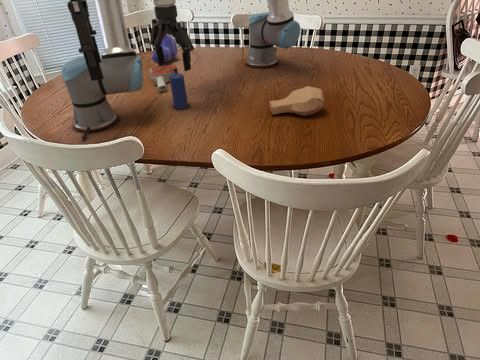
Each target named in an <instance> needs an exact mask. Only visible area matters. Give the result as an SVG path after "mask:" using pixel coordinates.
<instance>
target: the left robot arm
mask: <svg viewBox="0 0 480 360" xmlns="http://www.w3.org/2000/svg"><path fill="white" fill-rule="evenodd" d="M122 3H123V2H122V0H93V4H94V7H95V12H96V17H97V20H98V26H99V30H100V35H101V41H102V44H103V50H102V52H101V54H100V51H99V48H98V44H97V40H96V37H95V36H96V35H97V34H98V33H97V31H96V29H94V28H93V26H92V24H91V19H90V12H89V5H88V2H87V0H69V1H67V4H66V5H67V8H68V11H69V13H70V16H71V20H72V22H73V24H74V27H75V30H76V35H77V38H78V41H79V45H80V48H78V53H79V54H83V56H79V57H76V58H73V59H71V60H69V61H67V62H65V63H64V64H63V65H62V66H61V68H60V72H61V75H62V78H63V79H62V81H63V82H64V84H65V87H66V90H67V93H68V96H69V99H70V101H71V104H72V108H73V114H72V117H73V118H72V119H73V125H74V128H75V129H76V131H78V132H84V133H83V136H82V138H81V139H82V140H83V141H85V140H86V138H87V135H88V133H92V132H99V131H102V130H105V129H107V128H110V127H111V126H113V125H115V124H116V122H117V121H118V116H117V113H116V111H115V110H114V108H113V107H112V105H111V103H110V102H109V101H108V99H107V96H108V95H117V94H125V93H132V92H138V91H141V90H142V88H143V86H144V69H143V68H144V67H143V60H142V57H141V56H140V55H137V51H136V50H135V49H134V48H132V47H131V43H130V39H129V33H128V29H127V23H126V19H125V14H124V8H123V4H122ZM93 29H94V30H93Z"/></svg>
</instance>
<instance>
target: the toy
mask: <svg viewBox="0 0 480 360" xmlns="http://www.w3.org/2000/svg"><path fill="white" fill-rule="evenodd" d="M177 44H178V43H177V41H176V40H175V38H174V37H172V35H169V34H165V36H164V38H163V40H162V43H161V46H162V47H163V53H164V59H165V63H167V62H170V61H173V60H174V58H175V57H177V55H178V45H177ZM151 51H152V53H151V56H150V59H151V60H152V61H153V62H154V63H155V64H158V58H157V55H156V51H155V50H151ZM158 67H162V65H159V64H158Z"/></svg>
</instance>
